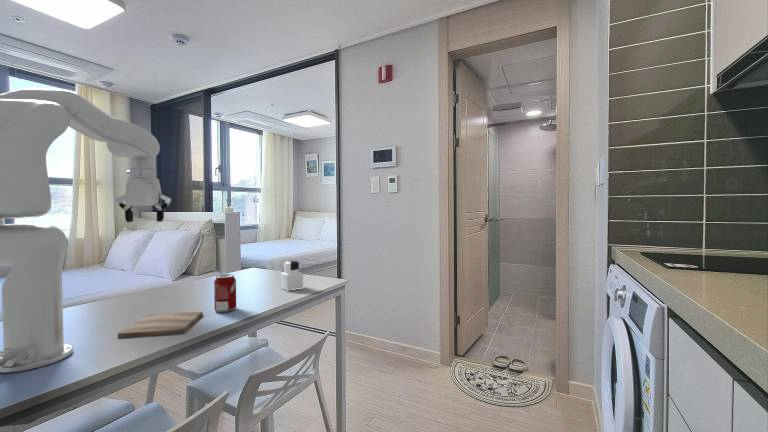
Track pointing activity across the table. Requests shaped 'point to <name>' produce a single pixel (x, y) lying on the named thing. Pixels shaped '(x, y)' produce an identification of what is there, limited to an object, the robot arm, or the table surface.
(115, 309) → the table surface
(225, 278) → the soda can
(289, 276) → the white security camera
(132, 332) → the walnut board
